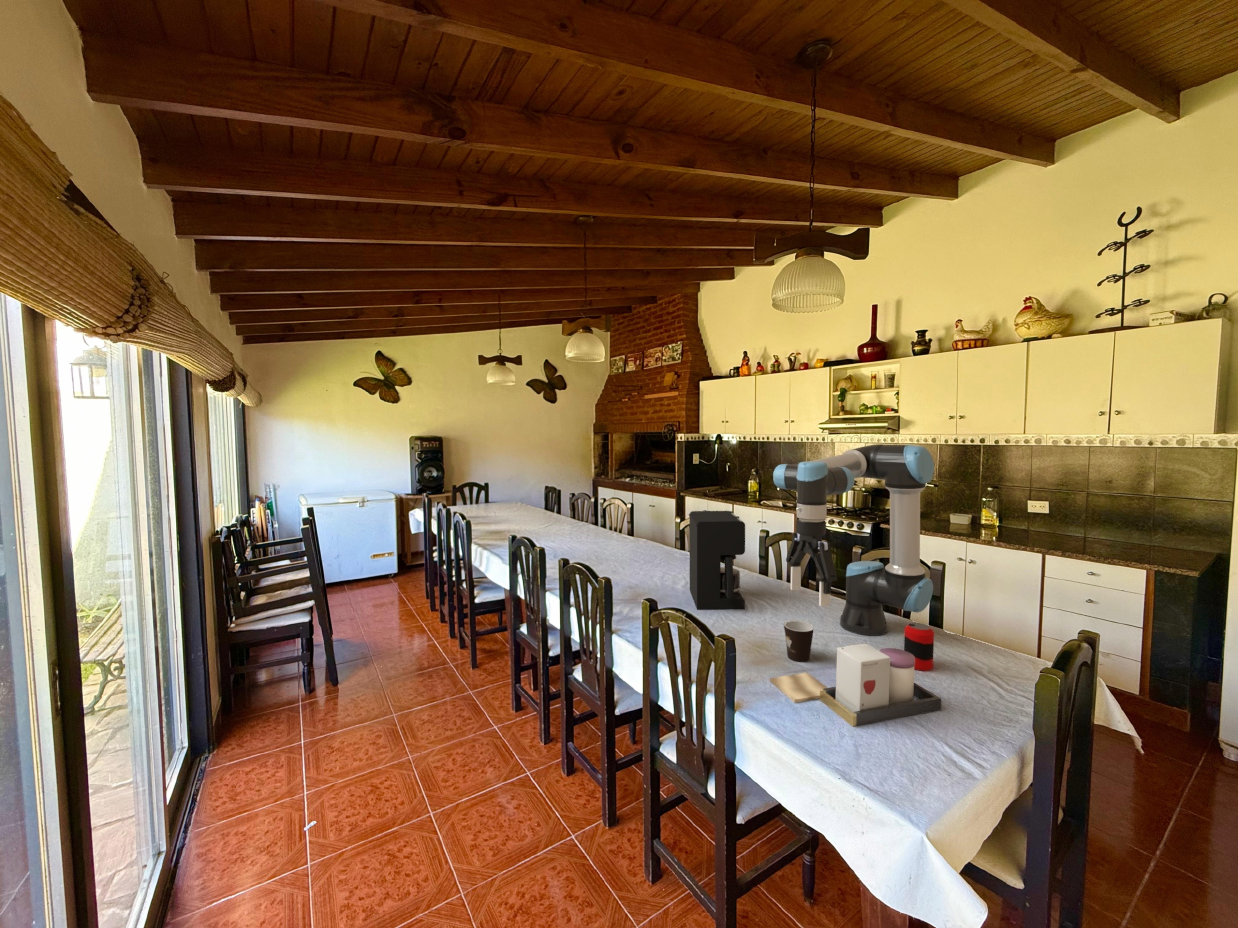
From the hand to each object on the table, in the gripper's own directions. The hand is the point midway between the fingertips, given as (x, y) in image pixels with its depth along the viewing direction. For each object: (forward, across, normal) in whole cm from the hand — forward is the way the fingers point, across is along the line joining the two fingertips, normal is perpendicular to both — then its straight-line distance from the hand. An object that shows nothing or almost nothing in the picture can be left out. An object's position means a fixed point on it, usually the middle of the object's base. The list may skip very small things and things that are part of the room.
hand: (809, 597), depth 143 cm
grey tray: (+25, +13, +12) cm, 31 cm away
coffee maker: (+25, -71, +4) cm, 76 cm away
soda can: (+25, -4, +39) cm, 46 cm away
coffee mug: (+25, -18, +8) cm, 32 cm away
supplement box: (+25, +13, +7) cm, 29 cm away
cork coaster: (+25, 0, -2) cm, 25 cm away
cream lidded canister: (+25, +12, +18) cm, 33 cm away
